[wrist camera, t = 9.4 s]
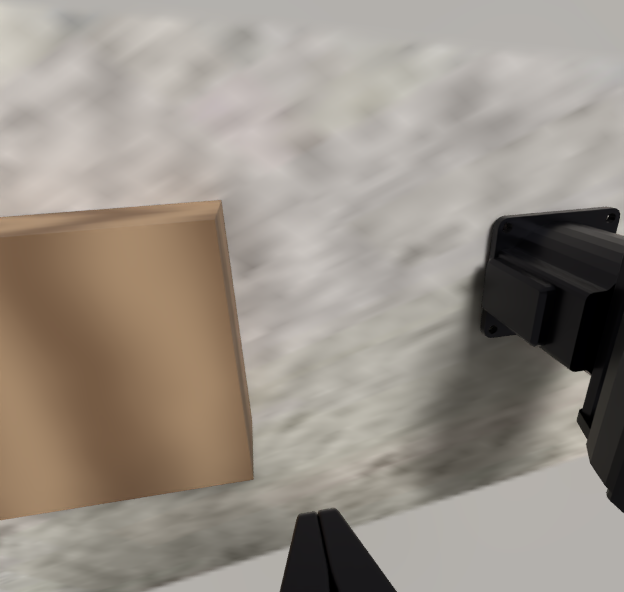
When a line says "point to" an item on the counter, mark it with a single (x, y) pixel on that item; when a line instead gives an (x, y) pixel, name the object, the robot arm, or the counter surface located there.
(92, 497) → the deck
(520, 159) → the counter surface
